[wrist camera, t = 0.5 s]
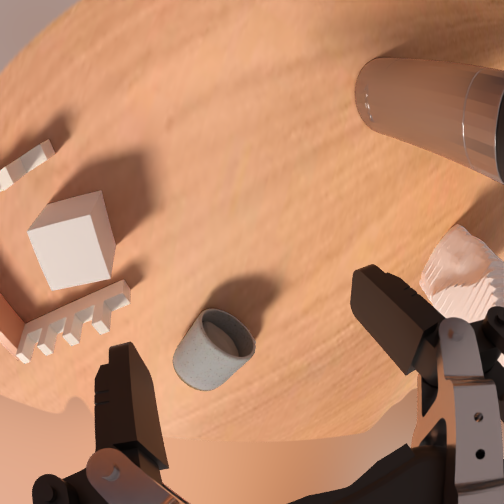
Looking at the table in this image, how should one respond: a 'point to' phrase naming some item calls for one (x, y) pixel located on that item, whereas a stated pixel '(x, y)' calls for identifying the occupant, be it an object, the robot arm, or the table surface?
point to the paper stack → (464, 277)
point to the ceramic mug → (213, 350)
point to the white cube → (74, 241)
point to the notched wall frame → (64, 318)
